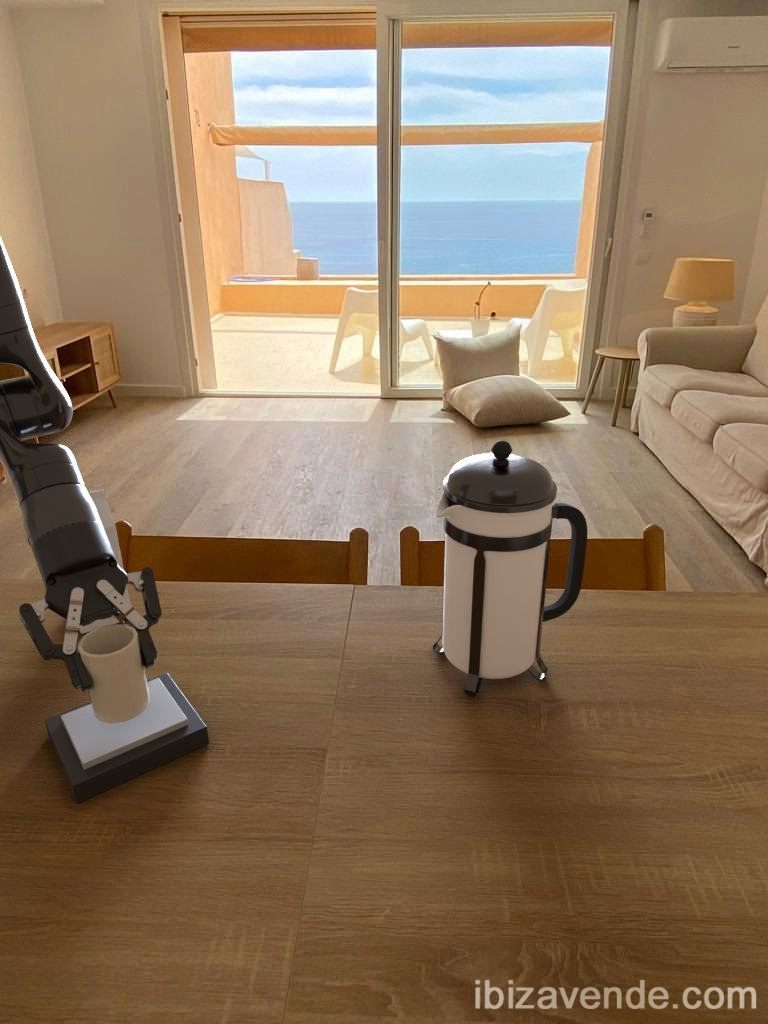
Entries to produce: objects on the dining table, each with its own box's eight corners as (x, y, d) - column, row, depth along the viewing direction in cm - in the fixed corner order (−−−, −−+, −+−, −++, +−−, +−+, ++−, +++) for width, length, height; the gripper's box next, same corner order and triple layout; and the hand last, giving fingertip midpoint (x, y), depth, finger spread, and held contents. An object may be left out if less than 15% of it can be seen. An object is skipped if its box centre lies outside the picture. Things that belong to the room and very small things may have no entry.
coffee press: (533, 719, 79) (557, 475, 67) (410, 677, 87) (411, 449, 74) (575, 643, 93) (602, 428, 81) (466, 612, 100) (475, 410, 88)
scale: (77, 804, 69) (70, 779, 68) (48, 736, 78) (42, 713, 77) (209, 743, 76) (206, 720, 75) (170, 688, 85) (166, 666, 84)
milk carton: (133, 619, 100) (110, 497, 92) (81, 635, 96) (53, 510, 88) (119, 598, 105) (97, 481, 97) (70, 612, 101) (42, 492, 94)
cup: (102, 731, 72) (86, 664, 68) (87, 701, 76) (71, 636, 72) (157, 708, 75) (145, 642, 71) (139, 681, 79) (127, 618, 75)
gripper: (-8, 540, 69) (46, 698, 65) (136, 504, 77) (192, 644, 73) (-4, 566, 75) (45, 712, 71) (129, 530, 83) (180, 661, 79)
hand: (119, 677), depth 72 cm, fingers closed on cup, 6 cm apart
